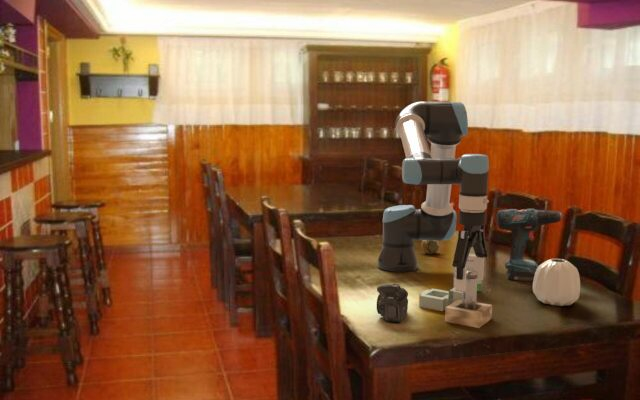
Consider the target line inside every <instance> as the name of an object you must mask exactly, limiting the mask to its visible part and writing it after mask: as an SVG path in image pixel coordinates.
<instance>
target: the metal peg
mask: <svg viewBox="0 0 640 400" xmlns="http://www.w3.org/2000/svg"><path fill="white" fill-rule="evenodd" d="M477 278H478V272H477V271H474V270H466V291H465V292H464V291H462V308H463V309H468V310H473V311H476V302H477V298H478V297H477V296H478V291H477Z"/></svg>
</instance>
